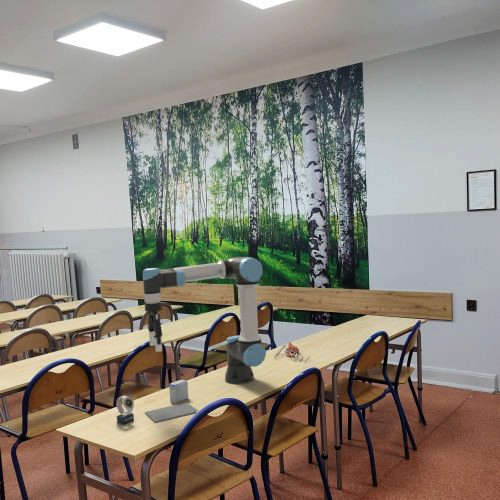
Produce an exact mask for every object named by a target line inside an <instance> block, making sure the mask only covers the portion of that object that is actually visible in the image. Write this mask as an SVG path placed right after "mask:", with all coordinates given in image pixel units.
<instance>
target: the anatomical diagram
mask: <svg viewBox="0 0 500 500" xmlns="http://www.w3.org/2000/svg"><path fill="white" fill-rule="evenodd" d="M282 350H283V352H284V354H285V355H286V354H287V356H288V357H289V356H291V357H289V358H290V359H292V360H293V359H294V360H295V361H297V360H298V359H299V358H300V359H299V361H302V360H303V359H304V358H305V356H304V355H302V354H299V353H300V349H299V348H298V346H294V345H293V344H292V343H291V342H290V341H289V342H288V346H287V345H286V344H285V345H284V344H283V346H282V347H281V348H280V350H278V352H276V354H275V355H276V356H275V355H274V357H276V358H278V356H279V355H280V354H281V352H282ZM291 352H295V353H297V352H298V354H297V356H296V357H292V356H294V355H296V354H295V353H291ZM306 357H308V358H307V359H306V360H305V361H306V362H307V361H308V360H309V359H310V358H311V356H306Z"/></svg>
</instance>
